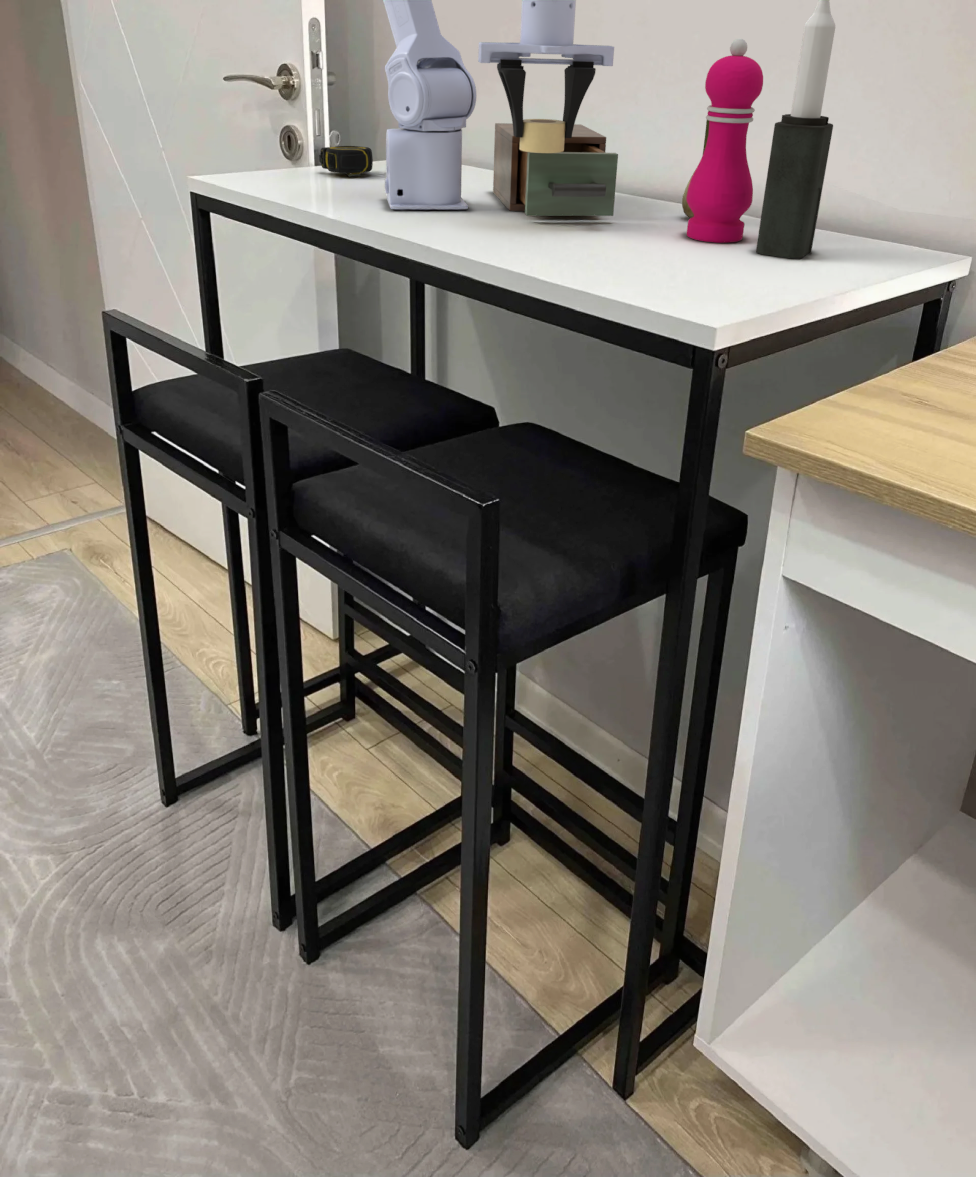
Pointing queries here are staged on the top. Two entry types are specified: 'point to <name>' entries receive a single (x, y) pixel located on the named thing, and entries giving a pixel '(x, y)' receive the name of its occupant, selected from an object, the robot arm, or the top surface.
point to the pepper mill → (725, 150)
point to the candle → (800, 150)
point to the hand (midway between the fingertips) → (541, 136)
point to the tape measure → (346, 159)
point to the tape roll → (543, 136)
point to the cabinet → (509, 159)
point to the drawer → (567, 181)
